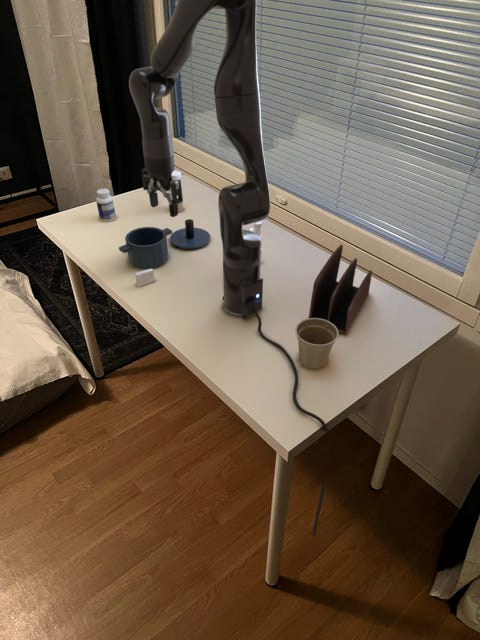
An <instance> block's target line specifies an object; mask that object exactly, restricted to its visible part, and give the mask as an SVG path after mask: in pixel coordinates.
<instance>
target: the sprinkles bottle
mask: <svg viewBox="0 0 480 640" xmlns="http://www.w3.org/2000/svg"><path fill="white" fill-rule="evenodd" d="M172 178H173V180H174V181H177V180H180V181H181V182H182V172H181V171H179V170H175V169H174V171H173V172H172ZM181 188H182V189H183V185H181ZM169 192H171V189H170V190H169V191H168V193H169ZM170 197H171V199H173V198H172V195H171V196H170ZM177 198H178V195H177ZM184 209H185V208H184V201H183V202H181V203H179V204H178V213H180V212H183V211H184Z"/></svg>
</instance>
